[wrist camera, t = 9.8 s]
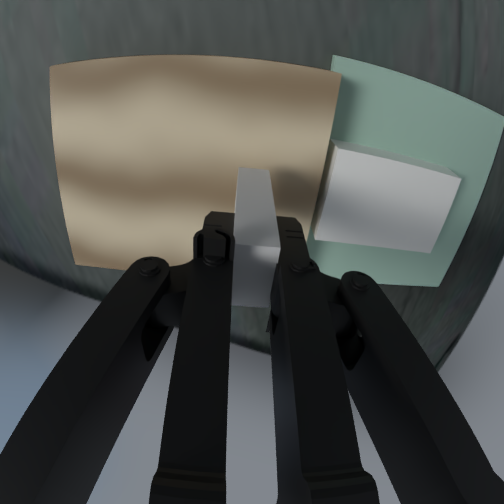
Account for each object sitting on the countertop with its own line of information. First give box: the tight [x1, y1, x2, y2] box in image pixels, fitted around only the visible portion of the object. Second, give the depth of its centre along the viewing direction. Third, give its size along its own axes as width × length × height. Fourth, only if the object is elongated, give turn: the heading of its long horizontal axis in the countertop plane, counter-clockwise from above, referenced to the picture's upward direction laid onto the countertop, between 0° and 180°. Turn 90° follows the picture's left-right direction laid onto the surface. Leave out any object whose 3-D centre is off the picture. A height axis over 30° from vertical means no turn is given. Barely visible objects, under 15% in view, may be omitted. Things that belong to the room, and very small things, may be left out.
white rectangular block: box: [311, 139, 461, 253], centre depth 19 cm, size 9×6×2 cm, turn 83°
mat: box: [306, 55, 504, 287], centre depth 20 cm, size 16×14×1 cm
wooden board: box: [50, 55, 342, 270], centre depth 18 cm, size 14×16×2 cm
